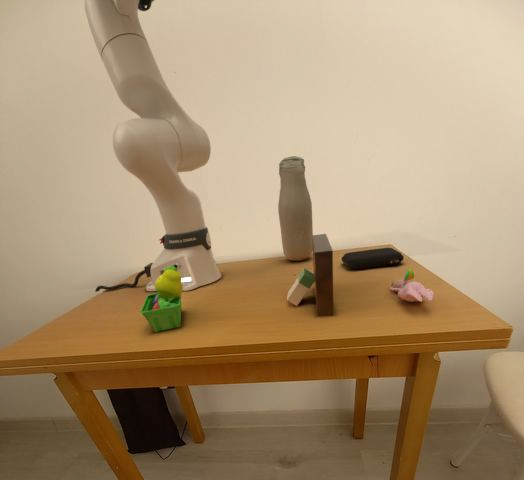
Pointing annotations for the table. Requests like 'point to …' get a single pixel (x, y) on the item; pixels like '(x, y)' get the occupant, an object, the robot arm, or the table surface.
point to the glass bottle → (295, 210)
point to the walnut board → (323, 274)
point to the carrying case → (372, 258)
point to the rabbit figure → (411, 289)
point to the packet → (300, 287)
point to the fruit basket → (165, 301)
